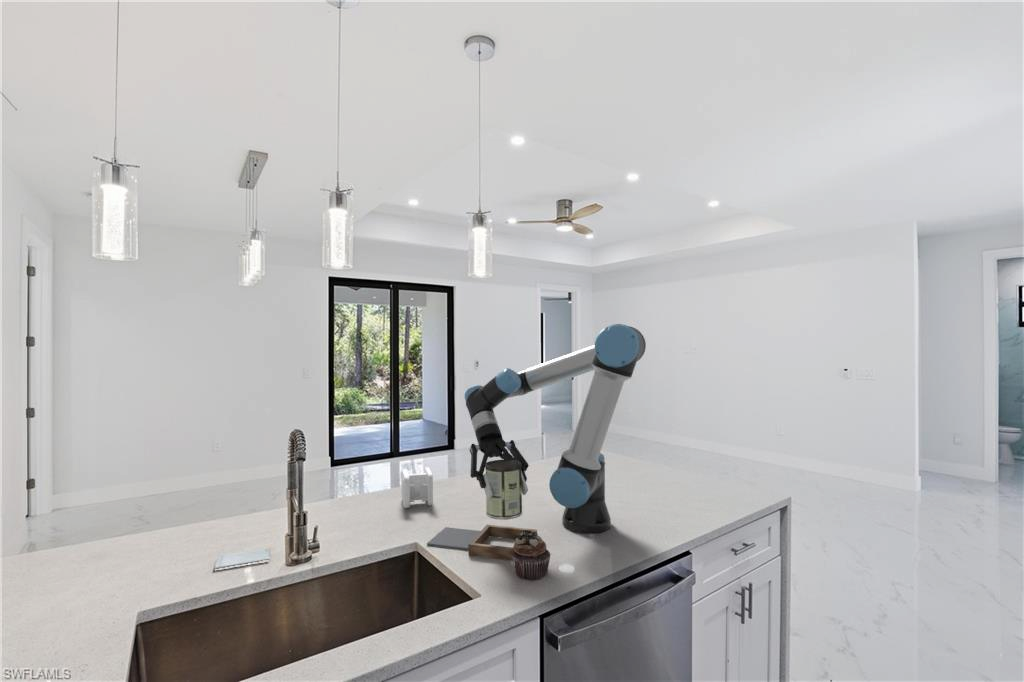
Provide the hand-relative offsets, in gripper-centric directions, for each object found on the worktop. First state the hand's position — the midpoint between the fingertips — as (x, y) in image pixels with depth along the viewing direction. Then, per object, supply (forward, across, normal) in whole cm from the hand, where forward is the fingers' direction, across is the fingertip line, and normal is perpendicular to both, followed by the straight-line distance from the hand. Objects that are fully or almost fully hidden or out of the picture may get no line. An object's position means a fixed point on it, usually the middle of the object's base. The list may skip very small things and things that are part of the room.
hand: (508, 495), depth 133 cm
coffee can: (+2, 0, -6) cm, 7 cm away
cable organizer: (-26, +14, -48) cm, 56 cm away
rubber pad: (+1, +10, -21) cm, 23 cm away
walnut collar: (+9, 0, -13) cm, 16 cm away
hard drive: (-6, +66, -28) cm, 72 cm away
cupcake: (+21, 0, -1) cm, 21 cm away
